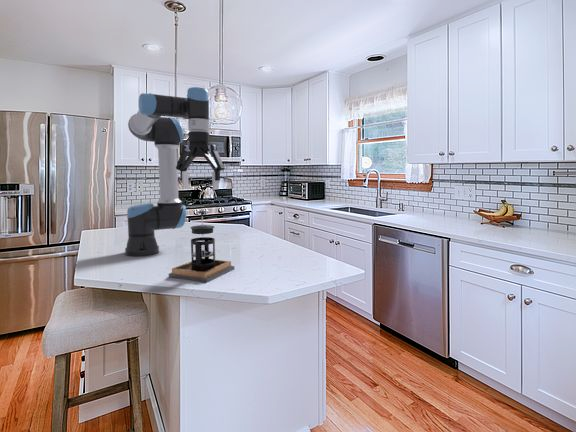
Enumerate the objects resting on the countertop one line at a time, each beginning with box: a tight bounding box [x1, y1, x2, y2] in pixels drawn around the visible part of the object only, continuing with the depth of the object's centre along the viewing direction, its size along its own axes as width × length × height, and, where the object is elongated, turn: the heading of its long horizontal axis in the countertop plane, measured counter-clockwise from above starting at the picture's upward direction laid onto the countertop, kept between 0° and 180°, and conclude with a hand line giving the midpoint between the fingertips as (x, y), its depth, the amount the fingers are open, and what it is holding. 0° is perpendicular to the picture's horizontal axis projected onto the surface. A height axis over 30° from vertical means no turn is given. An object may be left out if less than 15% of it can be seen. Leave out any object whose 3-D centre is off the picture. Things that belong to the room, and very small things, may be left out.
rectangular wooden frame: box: [168, 257, 235, 283], centre depth 139 cm, size 17×19×3 cm
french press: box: [190, 210, 216, 272], centre depth 137 cm, size 12×9×23 cm
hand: (200, 189), depth 135 cm, fingers open, 13 cm apart
